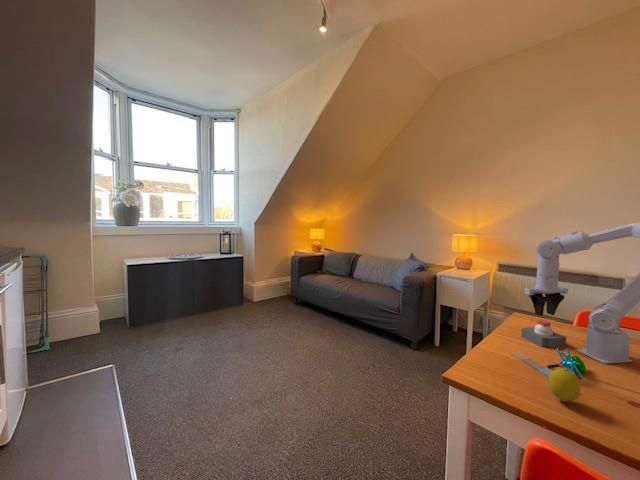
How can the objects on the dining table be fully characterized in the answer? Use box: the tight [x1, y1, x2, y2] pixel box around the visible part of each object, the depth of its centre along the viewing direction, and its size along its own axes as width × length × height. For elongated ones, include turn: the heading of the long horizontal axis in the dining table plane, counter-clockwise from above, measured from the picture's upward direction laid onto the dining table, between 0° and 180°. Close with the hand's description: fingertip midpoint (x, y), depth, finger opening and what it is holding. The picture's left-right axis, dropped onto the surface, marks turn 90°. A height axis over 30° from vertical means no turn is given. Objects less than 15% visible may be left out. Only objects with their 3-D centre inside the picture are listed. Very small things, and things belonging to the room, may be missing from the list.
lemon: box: [548, 367, 581, 403], centre depth 65 cm, size 6×6×8 cm
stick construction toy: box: [546, 347, 587, 380], centre depth 78 cm, size 12×7×8 cm
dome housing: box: [521, 326, 567, 348], centre depth 97 cm, size 9×9×3 cm
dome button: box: [534, 319, 554, 336], centre depth 96 cm, size 5×5×6 cm
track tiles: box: [508, 350, 553, 379], centre depth 81 cm, size 3×15×1 cm, turn 7°
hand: (544, 314), depth 96 cm, fingers open, 4 cm apart
